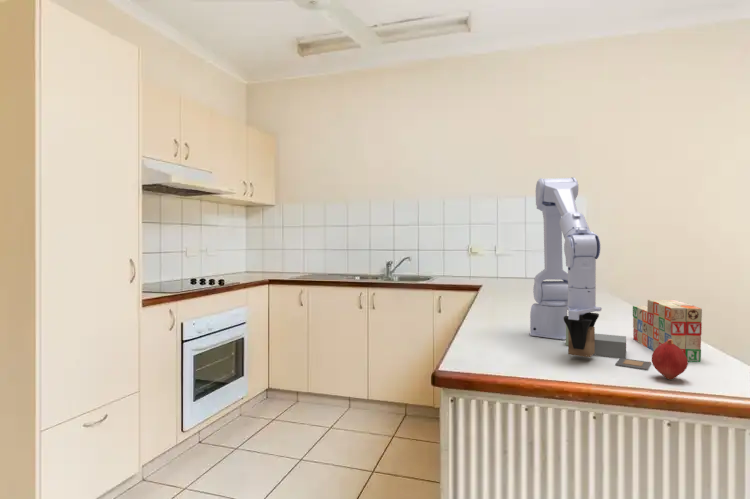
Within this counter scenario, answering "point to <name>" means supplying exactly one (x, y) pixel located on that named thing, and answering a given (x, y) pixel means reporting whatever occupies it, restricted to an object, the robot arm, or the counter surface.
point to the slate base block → (610, 346)
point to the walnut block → (589, 344)
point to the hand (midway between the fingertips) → (581, 346)
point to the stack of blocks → (669, 326)
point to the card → (633, 364)
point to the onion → (669, 360)
